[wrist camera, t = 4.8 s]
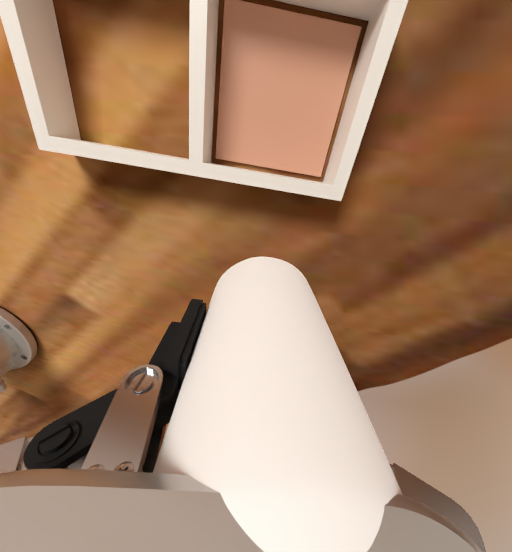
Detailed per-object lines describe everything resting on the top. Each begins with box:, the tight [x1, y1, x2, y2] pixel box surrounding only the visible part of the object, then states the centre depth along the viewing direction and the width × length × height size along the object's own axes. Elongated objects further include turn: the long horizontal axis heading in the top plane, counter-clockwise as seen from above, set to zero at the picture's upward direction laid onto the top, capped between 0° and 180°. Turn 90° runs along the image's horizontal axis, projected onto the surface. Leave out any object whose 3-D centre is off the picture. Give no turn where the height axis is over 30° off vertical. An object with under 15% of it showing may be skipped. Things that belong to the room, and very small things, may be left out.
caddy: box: [0, 0, 408, 201], centre depth 14 cm, size 12×23×3 cm, turn 81°
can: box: [153, 257, 402, 552], centre depth 9 cm, size 6×6×12 cm
